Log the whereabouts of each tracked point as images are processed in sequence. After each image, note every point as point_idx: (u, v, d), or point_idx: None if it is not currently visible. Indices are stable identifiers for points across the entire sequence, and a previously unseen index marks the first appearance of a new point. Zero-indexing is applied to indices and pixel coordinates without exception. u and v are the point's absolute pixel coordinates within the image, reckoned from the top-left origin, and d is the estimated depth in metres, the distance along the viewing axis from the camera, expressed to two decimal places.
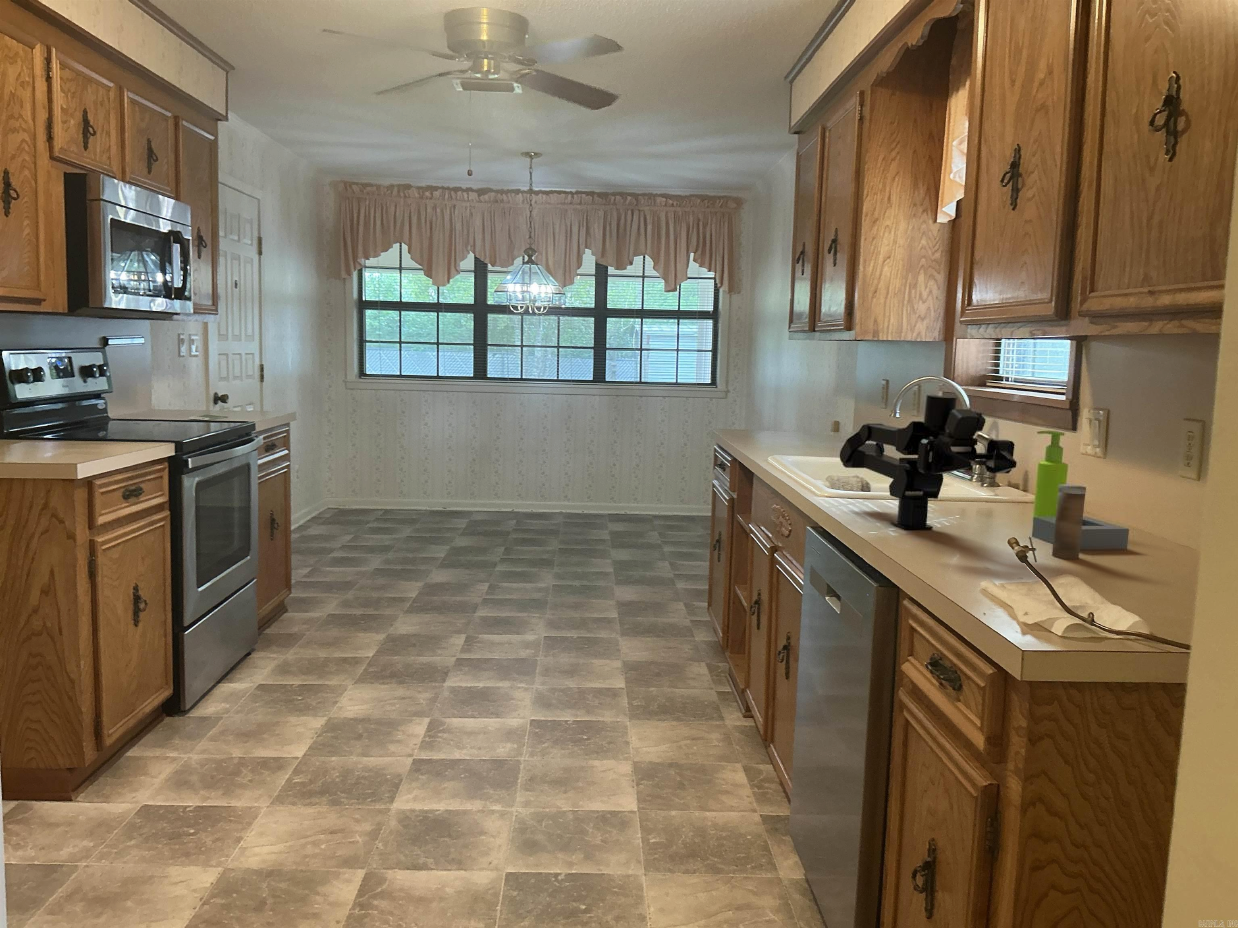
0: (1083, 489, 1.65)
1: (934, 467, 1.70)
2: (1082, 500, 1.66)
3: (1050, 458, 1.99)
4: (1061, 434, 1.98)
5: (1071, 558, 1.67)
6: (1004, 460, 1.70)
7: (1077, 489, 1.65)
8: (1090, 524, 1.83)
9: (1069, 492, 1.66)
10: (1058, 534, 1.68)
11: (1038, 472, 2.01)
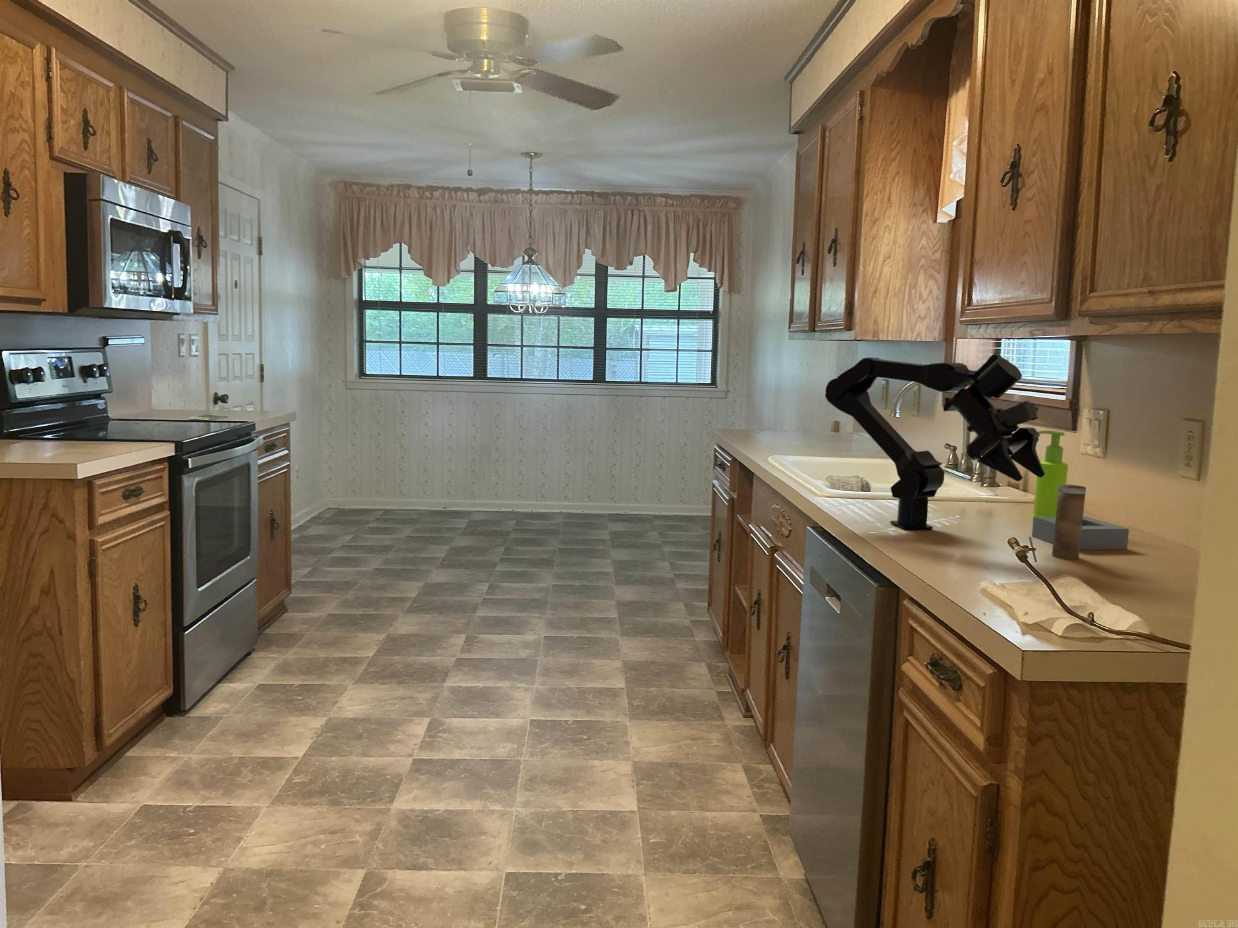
0: (1083, 489, 1.65)
1: (983, 459, 1.72)
2: (1082, 500, 1.66)
3: (1050, 458, 1.99)
4: (1061, 434, 1.98)
5: (1071, 558, 1.67)
6: (1031, 461, 1.77)
7: (1077, 489, 1.65)
8: (1090, 524, 1.83)
9: (1069, 492, 1.66)
10: (1058, 534, 1.68)
11: None
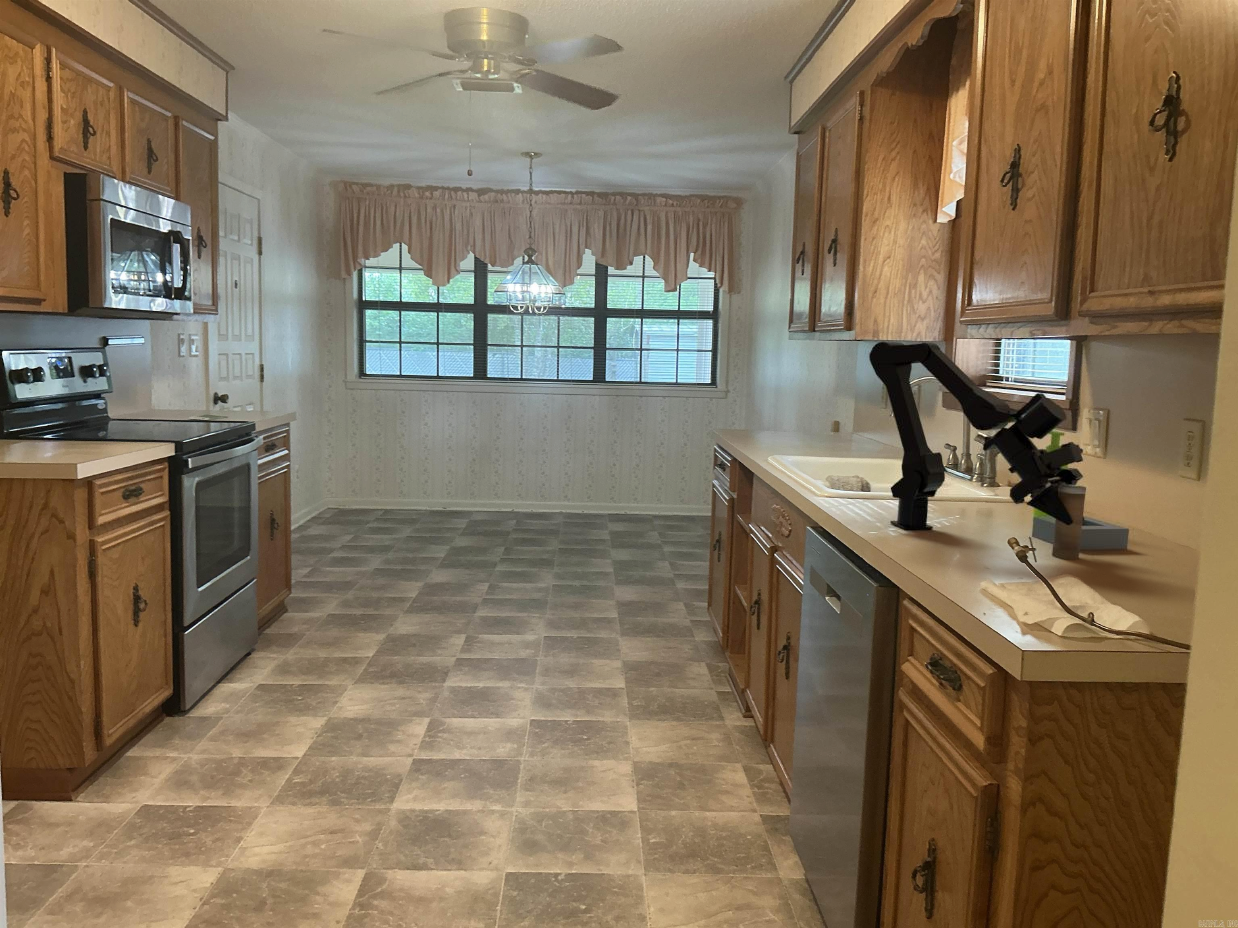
0: (1083, 489, 1.65)
1: (1033, 502, 1.67)
2: (1082, 500, 1.66)
3: None
4: (1061, 434, 1.98)
5: (1071, 558, 1.67)
6: None
7: (1077, 489, 1.65)
8: (1090, 524, 1.83)
9: (1069, 492, 1.66)
10: (1058, 534, 1.68)
11: None
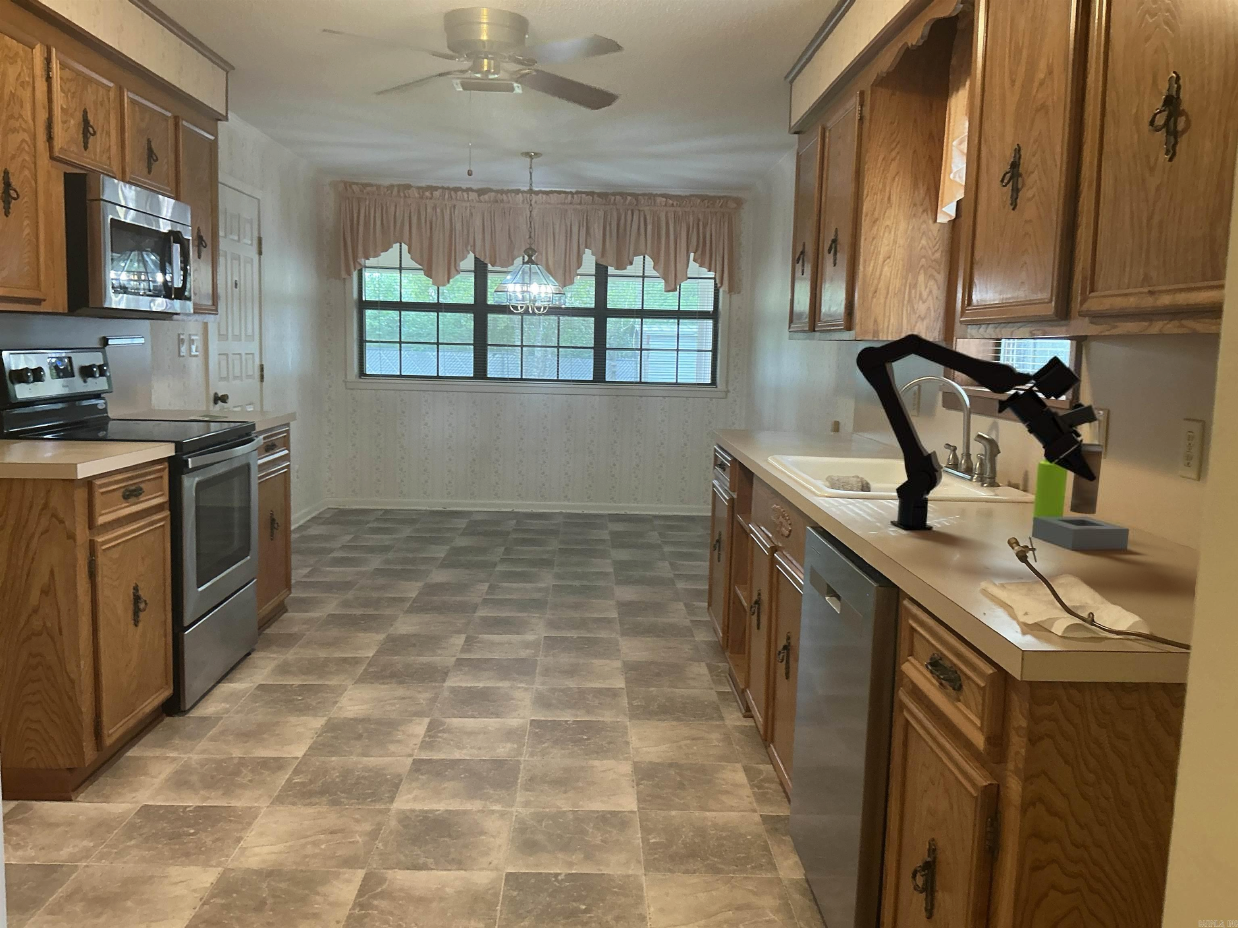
0: (1102, 446, 1.74)
1: (1060, 461, 1.73)
2: (1101, 457, 1.74)
3: None
4: None
5: (1092, 513, 1.75)
6: None
7: (1099, 446, 1.73)
8: (1090, 524, 1.83)
9: (1092, 450, 1.73)
10: (1080, 490, 1.75)
11: (1038, 472, 2.01)
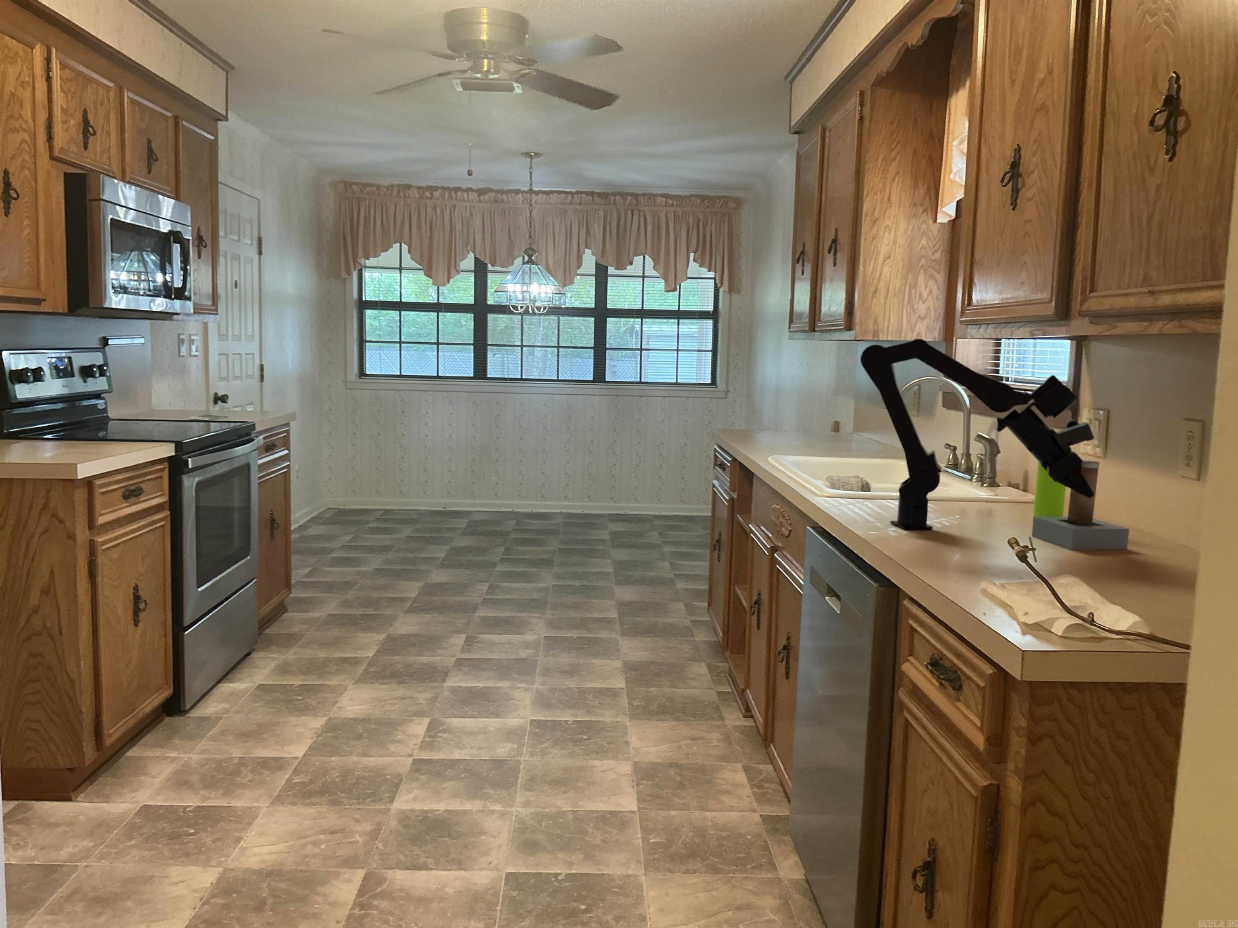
0: None
1: (1062, 478, 1.77)
2: (1097, 473, 1.79)
3: None
4: None
5: None
6: None
7: (1096, 464, 1.78)
8: None
9: (1090, 467, 1.78)
10: (1079, 506, 1.79)
11: (1038, 472, 2.01)
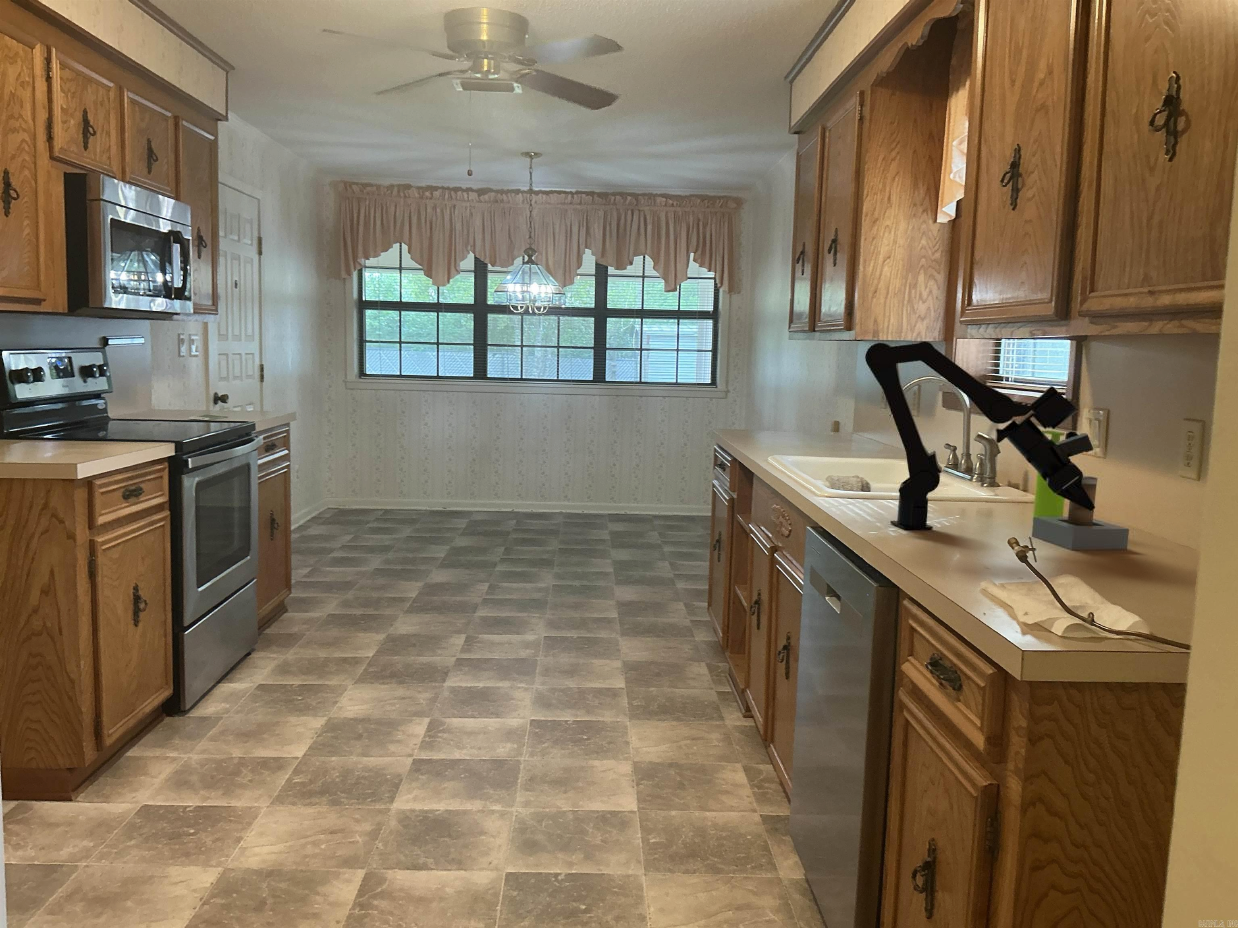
0: None
1: (1063, 491, 1.75)
2: (1095, 489, 1.79)
3: None
4: (1061, 434, 1.98)
5: None
6: None
7: (1094, 479, 1.78)
8: None
9: (1088, 483, 1.78)
10: (1077, 522, 1.80)
11: None
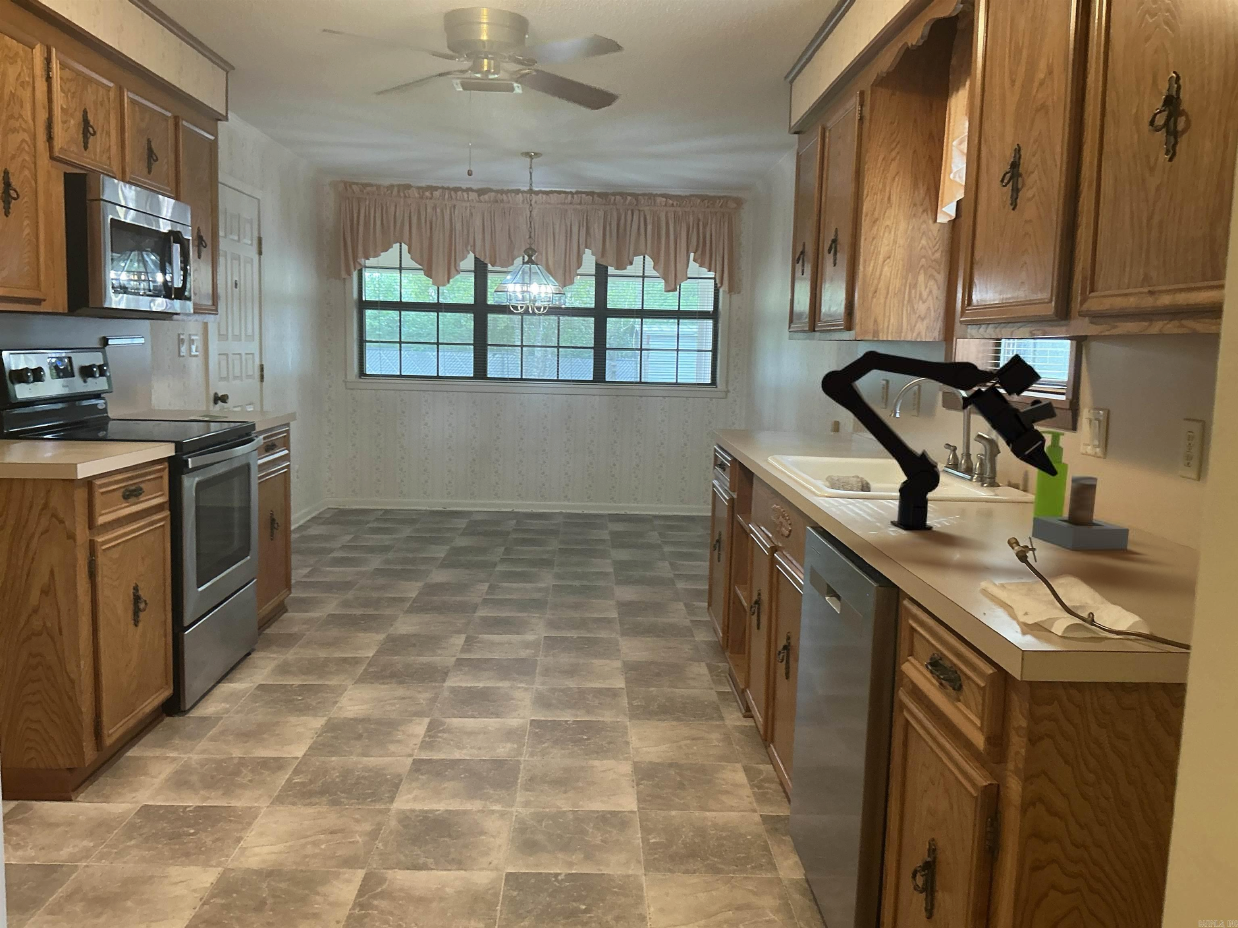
0: None
1: (1025, 457, 1.76)
2: None
3: (1050, 458, 1.99)
4: (1061, 434, 1.98)
5: None
6: None
7: (1094, 480, 1.78)
8: None
9: (1088, 483, 1.78)
10: (1077, 522, 1.80)
11: (1038, 472, 2.01)
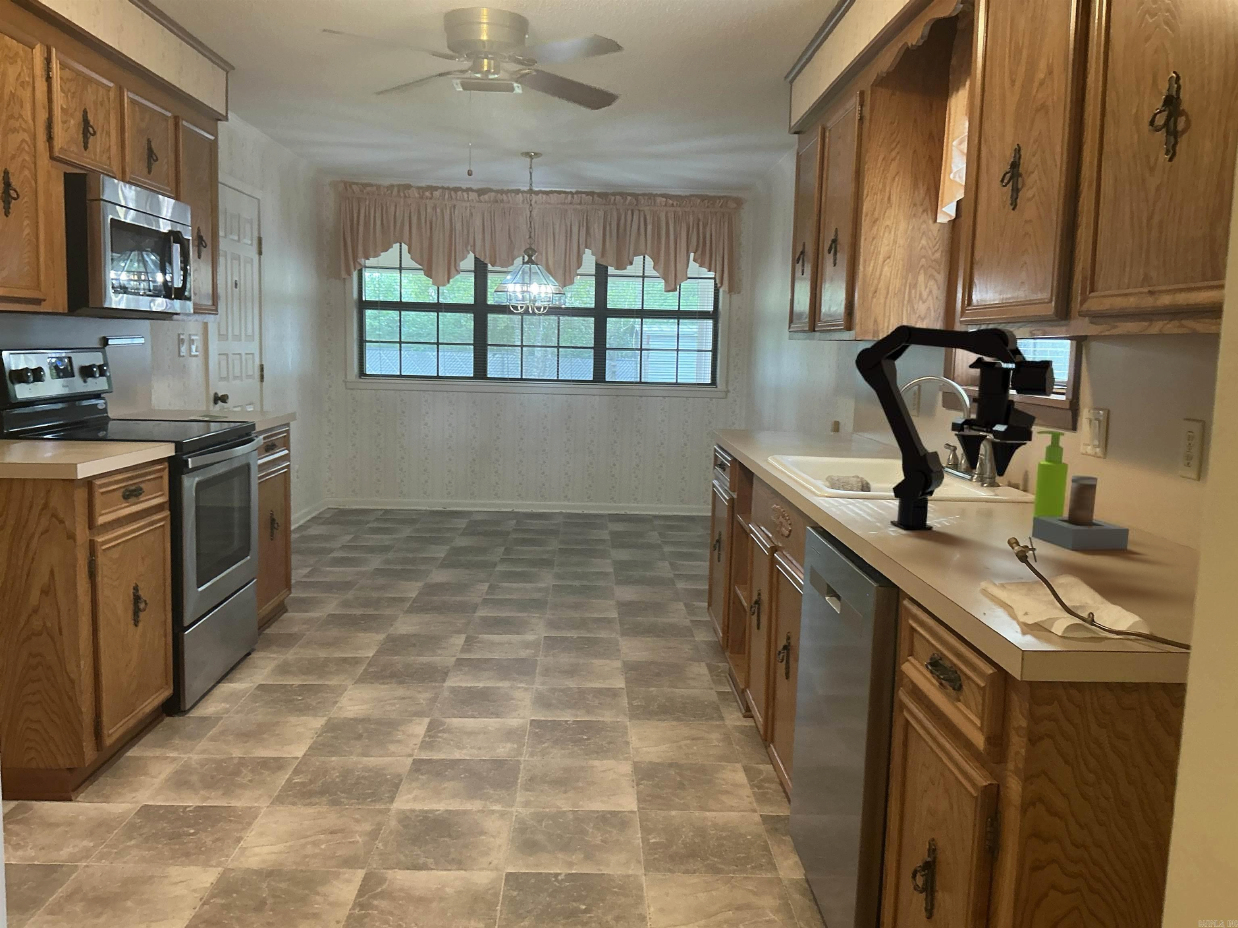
0: None
1: (1004, 444, 1.73)
2: None
3: (1050, 458, 1.99)
4: (1061, 434, 1.98)
5: None
6: (974, 452, 1.86)
7: (1094, 480, 1.78)
8: None
9: (1088, 483, 1.78)
10: (1077, 522, 1.80)
11: (1038, 472, 2.01)
